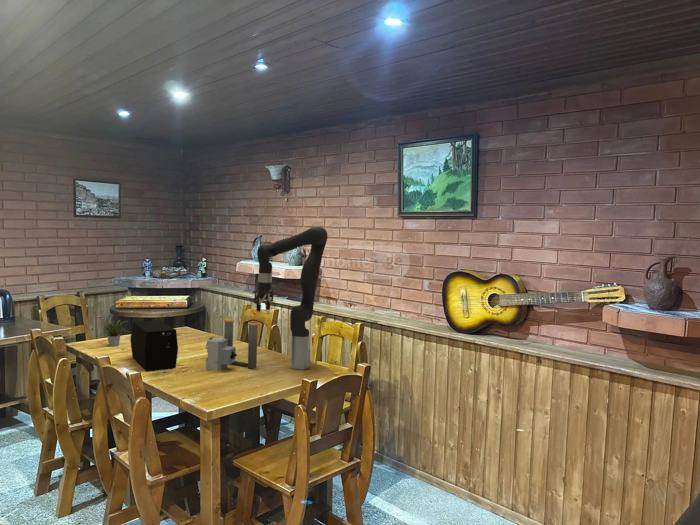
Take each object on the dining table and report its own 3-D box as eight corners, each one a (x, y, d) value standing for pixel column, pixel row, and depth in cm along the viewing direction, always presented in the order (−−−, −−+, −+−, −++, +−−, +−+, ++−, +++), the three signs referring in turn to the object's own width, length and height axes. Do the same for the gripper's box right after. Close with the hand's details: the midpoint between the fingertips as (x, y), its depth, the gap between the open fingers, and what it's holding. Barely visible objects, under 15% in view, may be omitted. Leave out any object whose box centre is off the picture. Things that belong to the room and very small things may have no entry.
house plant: (127, 342, 309) (127, 316, 308) (130, 346, 297) (130, 319, 296) (101, 344, 302) (102, 317, 301) (103, 348, 290) (104, 321, 289)
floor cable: (249, 366, 262) (249, 362, 262) (247, 367, 260) (247, 363, 260) (232, 363, 267) (233, 360, 267) (230, 364, 265) (230, 360, 265)
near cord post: (259, 367, 261) (260, 322, 260) (253, 369, 257) (254, 323, 255) (251, 366, 264) (252, 321, 262) (245, 368, 259) (246, 322, 258)
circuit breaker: (231, 372, 250) (232, 342, 250) (205, 369, 253) (206, 340, 253) (238, 368, 258) (238, 339, 257) (212, 366, 261) (213, 337, 260)
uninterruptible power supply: (161, 354, 281) (161, 319, 280) (178, 369, 253) (179, 330, 252) (130, 358, 271) (130, 321, 270) (144, 373, 244) (145, 332, 243)
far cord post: (235, 363, 268) (236, 319, 267) (228, 365, 264) (229, 320, 262) (227, 361, 271) (228, 318, 269) (221, 363, 266) (222, 319, 265)
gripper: (262, 282, 263) (261, 313, 264) (278, 281, 275) (276, 310, 276) (251, 281, 266) (249, 311, 267) (266, 279, 279) (265, 308, 280)
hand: (263, 310), depth 272 cm, fingers open, 8 cm apart
